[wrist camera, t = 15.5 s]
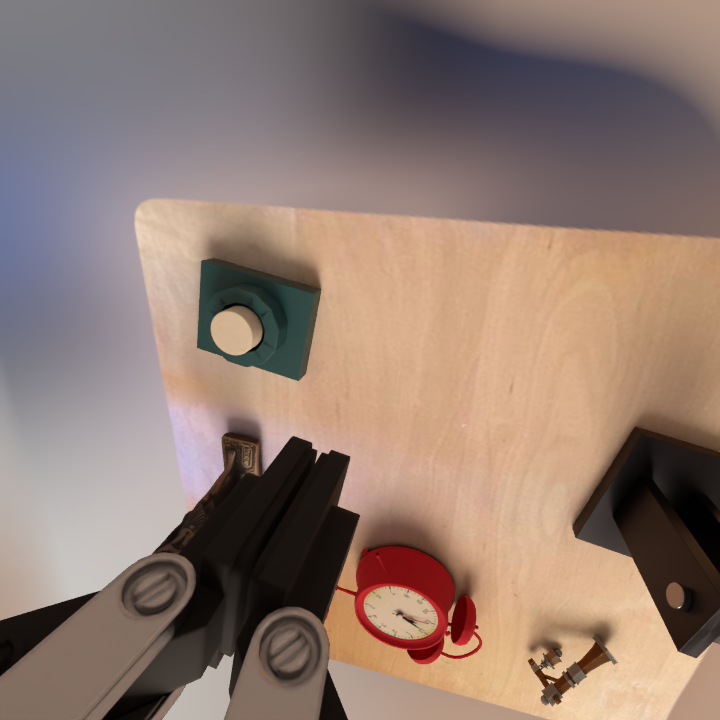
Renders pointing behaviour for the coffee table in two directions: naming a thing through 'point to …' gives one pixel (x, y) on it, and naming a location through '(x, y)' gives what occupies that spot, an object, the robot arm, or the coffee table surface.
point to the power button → (236, 330)
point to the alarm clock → (411, 603)
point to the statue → (217, 488)
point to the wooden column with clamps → (569, 671)
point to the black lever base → (665, 529)
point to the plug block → (260, 315)
